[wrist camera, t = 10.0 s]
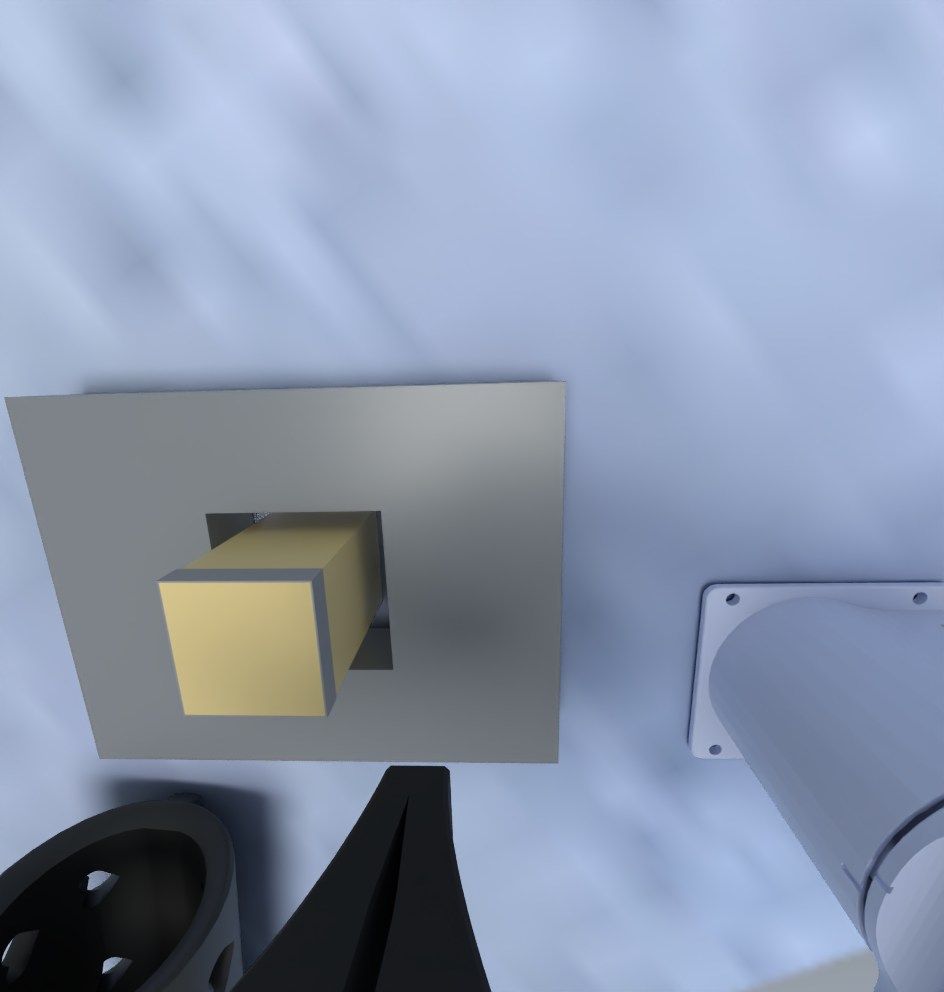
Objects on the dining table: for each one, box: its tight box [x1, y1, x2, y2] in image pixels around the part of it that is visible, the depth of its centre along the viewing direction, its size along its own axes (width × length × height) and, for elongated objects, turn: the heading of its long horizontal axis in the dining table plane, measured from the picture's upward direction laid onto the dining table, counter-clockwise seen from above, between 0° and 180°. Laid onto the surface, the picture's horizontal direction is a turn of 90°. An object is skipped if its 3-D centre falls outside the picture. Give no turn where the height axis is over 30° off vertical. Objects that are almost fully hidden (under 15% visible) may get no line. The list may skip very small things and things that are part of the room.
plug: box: [157, 511, 383, 718], centre depth 16 cm, size 4×4×7 cm
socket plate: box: [4, 381, 566, 763], centre depth 18 cm, size 18×14×3 cm
